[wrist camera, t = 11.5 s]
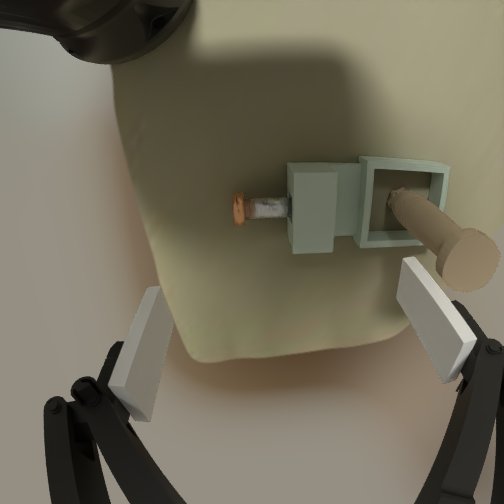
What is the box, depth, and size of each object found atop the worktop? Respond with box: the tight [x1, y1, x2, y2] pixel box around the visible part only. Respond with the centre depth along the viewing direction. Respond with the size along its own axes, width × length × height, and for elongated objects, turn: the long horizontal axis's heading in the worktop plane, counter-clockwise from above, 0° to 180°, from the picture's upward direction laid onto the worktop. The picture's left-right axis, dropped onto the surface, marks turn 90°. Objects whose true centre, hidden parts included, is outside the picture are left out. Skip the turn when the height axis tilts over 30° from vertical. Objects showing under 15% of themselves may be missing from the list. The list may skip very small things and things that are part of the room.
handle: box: [387, 187, 500, 292], centre depth 25 cm, size 5×6×15 cm
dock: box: [287, 156, 450, 254], centre depth 29 cm, size 10×18×5 cm, turn 93°
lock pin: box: [233, 193, 292, 226], centre depth 29 cm, size 3×7×3 cm, turn 93°
